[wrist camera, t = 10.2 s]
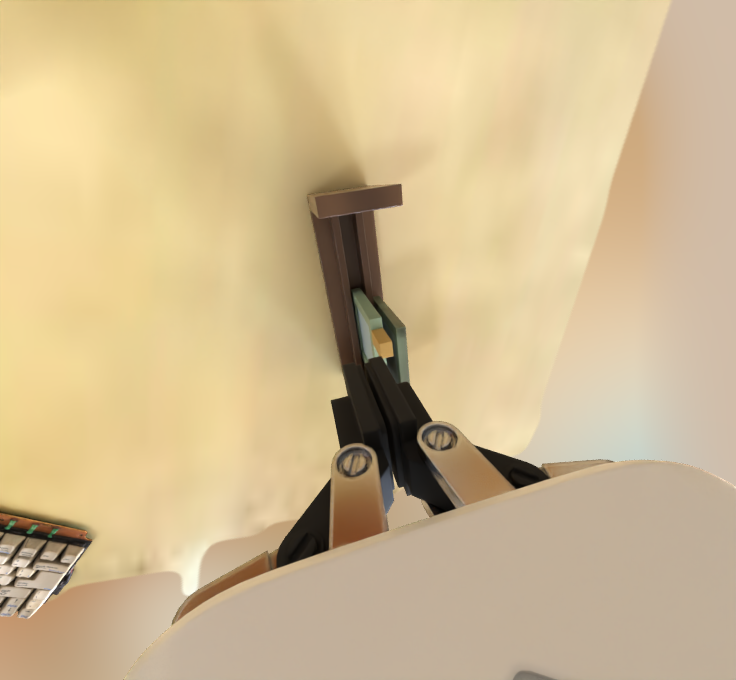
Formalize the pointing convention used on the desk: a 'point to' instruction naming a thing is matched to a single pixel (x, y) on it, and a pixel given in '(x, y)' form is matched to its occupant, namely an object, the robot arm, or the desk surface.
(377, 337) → the sliding pane
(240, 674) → the robot arm
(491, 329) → the desk surface
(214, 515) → the desk surface
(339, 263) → the window frame
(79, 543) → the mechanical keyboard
